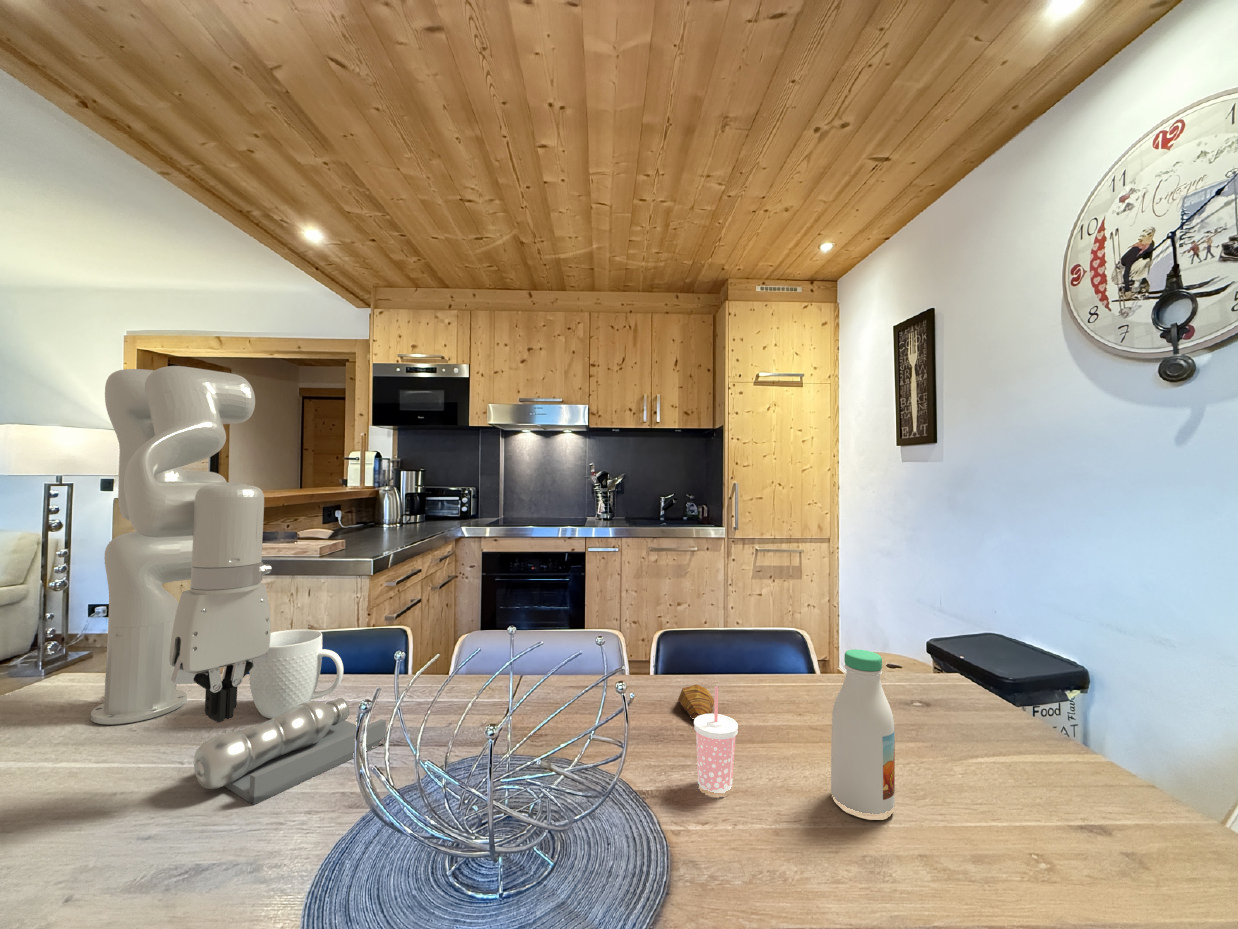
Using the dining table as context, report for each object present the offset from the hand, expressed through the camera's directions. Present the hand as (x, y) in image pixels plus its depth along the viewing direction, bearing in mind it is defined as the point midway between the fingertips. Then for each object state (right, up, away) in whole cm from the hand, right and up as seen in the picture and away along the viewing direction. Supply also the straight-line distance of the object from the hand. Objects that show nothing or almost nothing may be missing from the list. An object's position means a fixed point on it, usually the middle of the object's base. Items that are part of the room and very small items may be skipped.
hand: (220, 717), depth 70 cm
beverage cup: (+66, -12, +4) cm, 67 cm away
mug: (-6, -11, +25) cm, 28 cm away
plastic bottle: (-2, -6, -1) cm, 7 cm away
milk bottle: (+85, -12, +1) cm, 86 cm away
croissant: (+67, -13, +29) cm, 74 cm away
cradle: (+5, -11, +9) cm, 15 cm away
